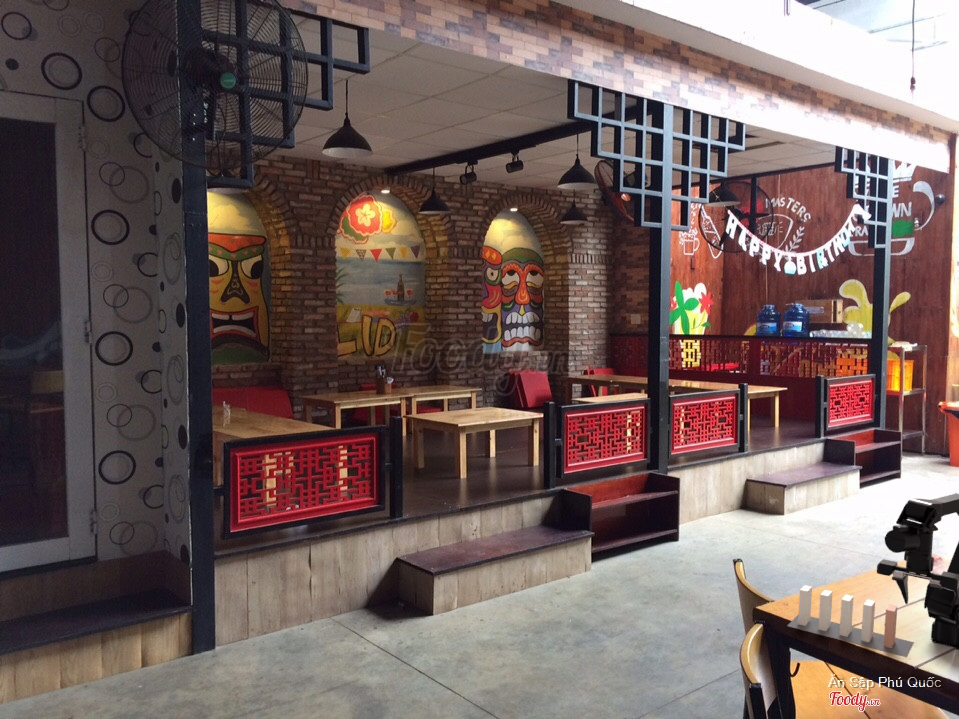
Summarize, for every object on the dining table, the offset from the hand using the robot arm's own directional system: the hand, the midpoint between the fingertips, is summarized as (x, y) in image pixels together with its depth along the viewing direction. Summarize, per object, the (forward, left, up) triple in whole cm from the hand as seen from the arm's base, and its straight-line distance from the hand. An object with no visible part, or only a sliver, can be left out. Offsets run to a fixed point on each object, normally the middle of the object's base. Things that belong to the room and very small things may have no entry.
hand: (915, 605), depth 206 cm
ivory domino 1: (+28, 0, -12) cm, 30 cm away
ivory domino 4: (+11, 0, -12) cm, 16 cm away
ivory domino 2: (+22, 0, -12) cm, 25 cm away
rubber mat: (+16, 0, -12) cm, 20 cm away
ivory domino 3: (+17, 0, -12) cm, 20 cm away
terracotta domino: (+6, 0, -12) cm, 13 cm away
